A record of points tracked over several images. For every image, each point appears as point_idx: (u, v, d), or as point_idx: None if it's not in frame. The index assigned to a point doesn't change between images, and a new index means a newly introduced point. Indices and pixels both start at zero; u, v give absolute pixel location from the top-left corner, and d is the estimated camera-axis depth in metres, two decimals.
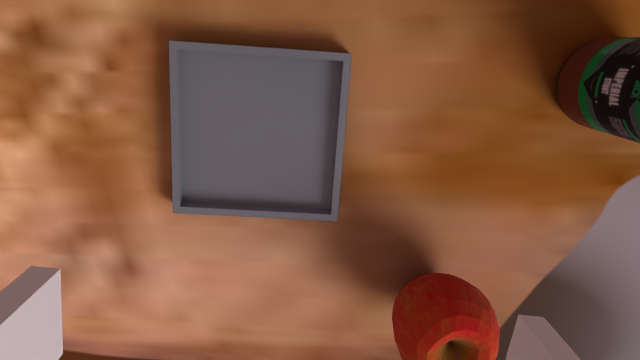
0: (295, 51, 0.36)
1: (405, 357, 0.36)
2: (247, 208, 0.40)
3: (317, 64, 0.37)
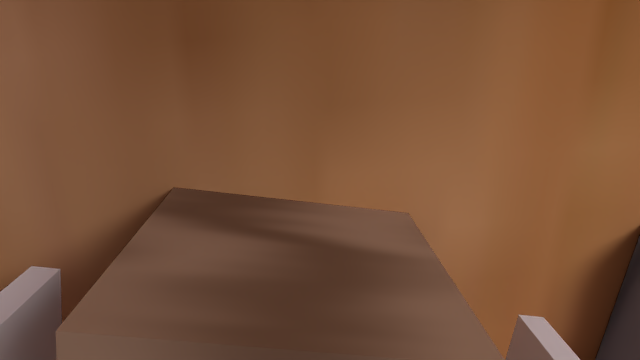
0: None
1: None
2: None
3: None
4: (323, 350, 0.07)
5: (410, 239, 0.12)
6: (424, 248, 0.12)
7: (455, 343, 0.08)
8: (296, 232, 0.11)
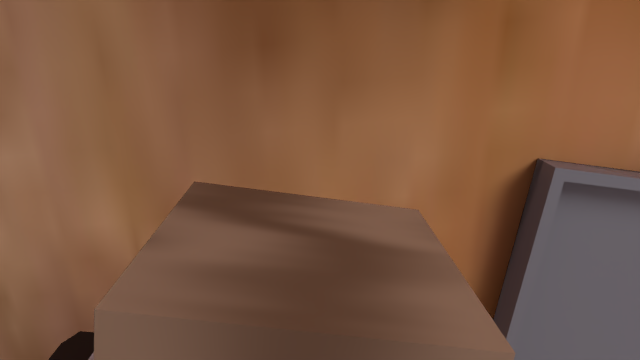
0: (533, 251, 0.23)
1: None
2: None
3: None
4: (341, 333, 0.08)
5: (421, 235, 0.12)
6: (434, 244, 0.12)
7: (464, 330, 0.08)
8: (312, 226, 0.12)
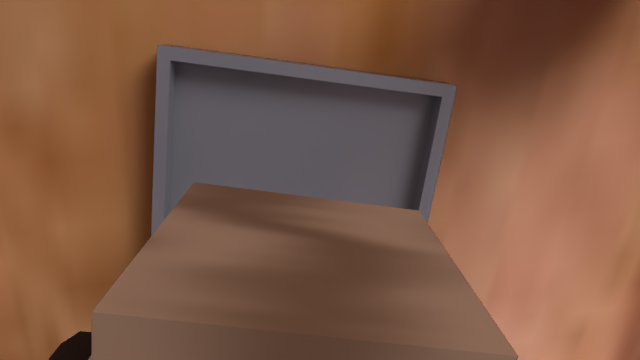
0: (156, 139, 0.22)
1: None
2: None
3: (184, 101, 0.23)
4: (341, 336, 0.08)
5: (422, 236, 0.12)
6: (435, 244, 0.12)
7: (466, 333, 0.08)
8: (312, 226, 0.12)
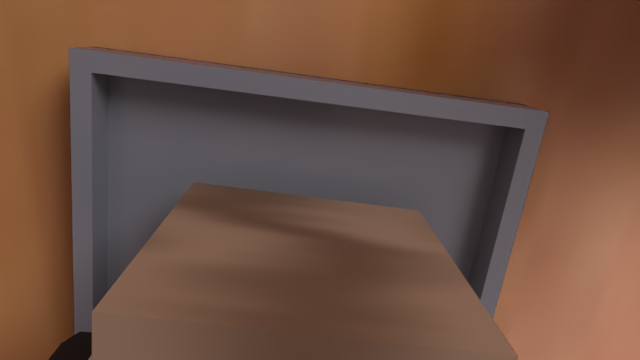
0: (76, 195, 0.14)
1: None
2: None
3: (122, 134, 0.15)
4: (341, 335, 0.08)
5: (422, 236, 0.12)
6: (435, 244, 0.12)
7: (466, 332, 0.08)
8: (312, 226, 0.12)
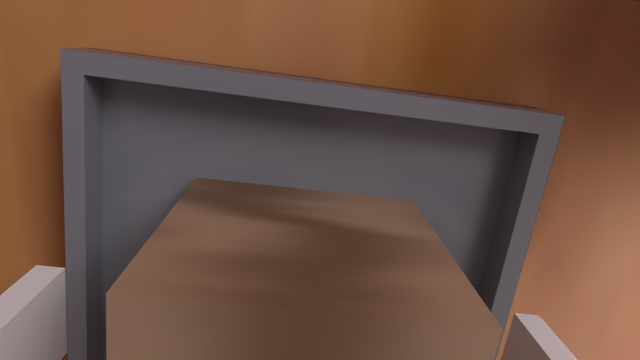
0: (68, 203, 0.13)
1: None
2: None
3: (117, 139, 0.14)
4: (337, 312, 0.08)
5: (415, 224, 0.13)
6: (427, 231, 0.13)
7: (454, 308, 0.09)
8: (310, 216, 0.12)
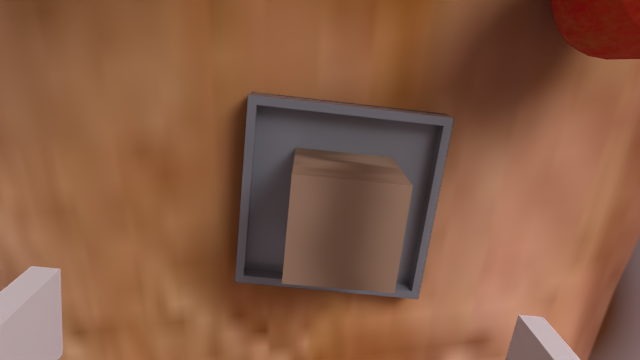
0: (245, 157, 0.32)
1: None
2: (423, 220, 0.34)
3: (262, 131, 0.33)
4: (361, 180, 0.26)
5: (391, 163, 0.31)
6: (395, 166, 0.31)
7: (398, 182, 0.27)
8: (347, 160, 0.31)
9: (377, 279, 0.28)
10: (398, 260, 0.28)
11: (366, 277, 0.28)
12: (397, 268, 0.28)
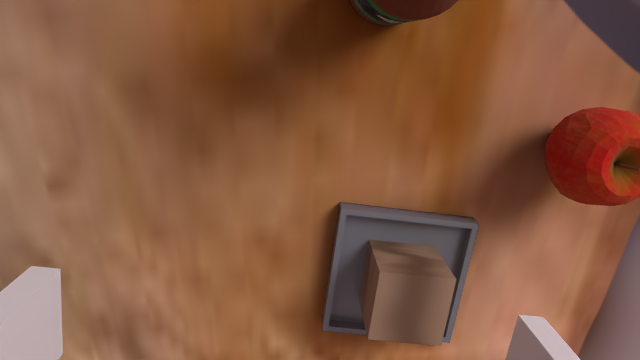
0: (336, 248, 0.46)
1: (620, 204, 0.39)
2: (455, 289, 0.49)
3: (346, 228, 0.47)
4: (423, 275, 0.41)
5: (436, 254, 0.46)
6: (440, 257, 0.46)
7: (446, 275, 0.42)
8: (408, 253, 0.46)
9: (430, 336, 0.43)
10: (444, 325, 0.43)
11: (423, 335, 0.43)
12: (443, 330, 0.43)
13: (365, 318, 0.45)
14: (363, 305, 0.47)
